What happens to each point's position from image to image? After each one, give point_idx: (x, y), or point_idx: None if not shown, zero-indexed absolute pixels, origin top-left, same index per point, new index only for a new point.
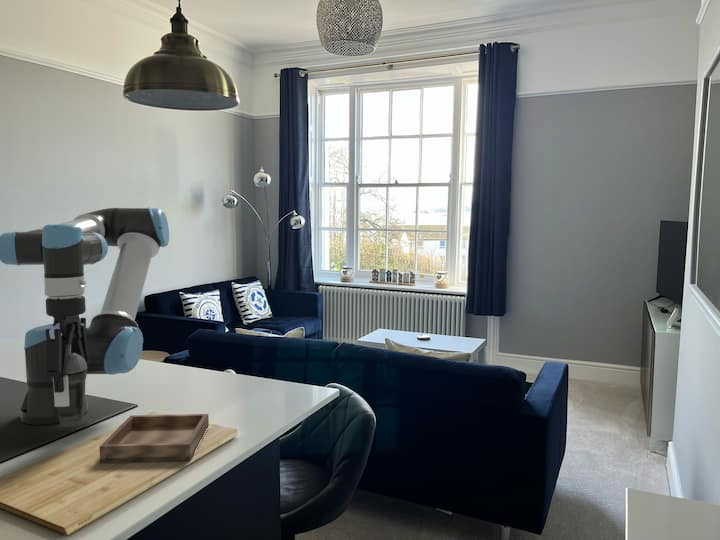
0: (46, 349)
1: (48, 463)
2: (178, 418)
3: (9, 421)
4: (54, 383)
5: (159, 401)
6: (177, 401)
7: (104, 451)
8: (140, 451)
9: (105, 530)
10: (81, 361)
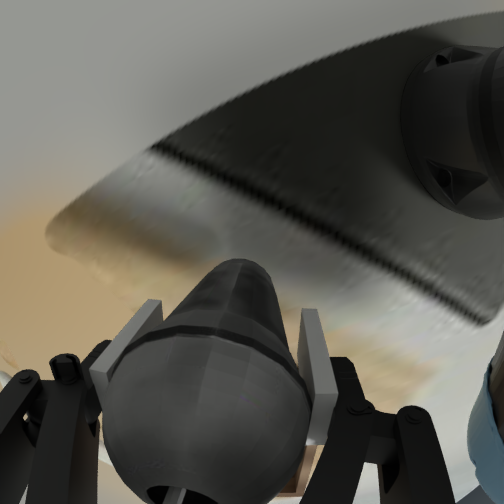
0: None
1: (131, 257)
2: (301, 464)
3: (427, 30)
4: (83, 363)
5: (491, 358)
6: (475, 392)
7: None
8: None
9: (4, 386)
10: (188, 501)
